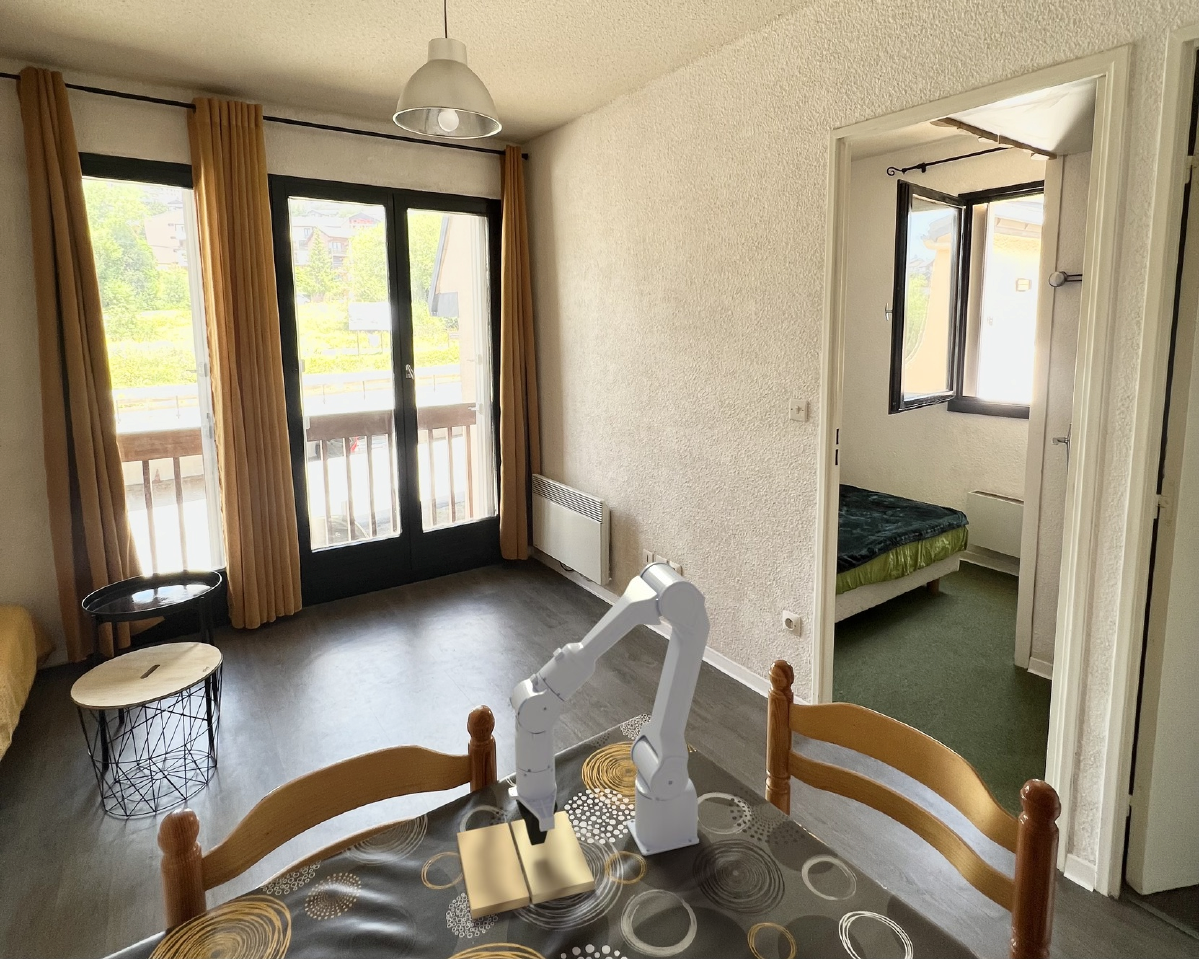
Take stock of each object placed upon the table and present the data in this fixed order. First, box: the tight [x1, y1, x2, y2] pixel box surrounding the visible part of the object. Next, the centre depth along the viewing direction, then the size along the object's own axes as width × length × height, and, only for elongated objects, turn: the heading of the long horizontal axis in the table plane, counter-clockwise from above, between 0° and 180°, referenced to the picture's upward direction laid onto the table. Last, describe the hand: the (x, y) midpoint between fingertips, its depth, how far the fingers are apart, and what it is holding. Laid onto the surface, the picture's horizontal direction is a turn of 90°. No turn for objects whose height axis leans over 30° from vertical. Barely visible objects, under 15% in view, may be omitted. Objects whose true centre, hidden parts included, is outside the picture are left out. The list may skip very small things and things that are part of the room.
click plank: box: [510, 810, 595, 905], centre depth 113 cm, size 9×16×2 cm, turn 18°
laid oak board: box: [456, 822, 530, 920], centre depth 111 cm, size 8×16×2 cm, turn 18°
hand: (537, 841), depth 112 cm, fingers closed
